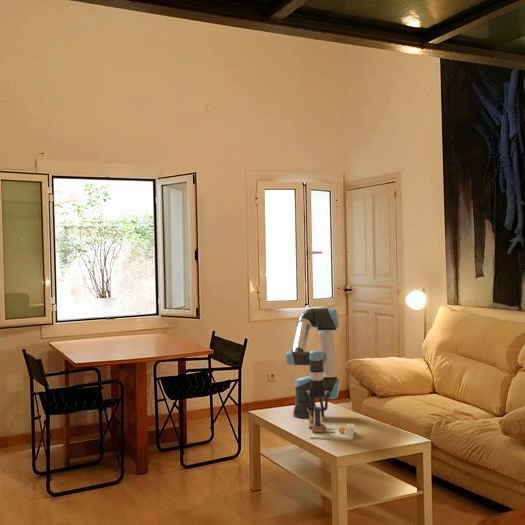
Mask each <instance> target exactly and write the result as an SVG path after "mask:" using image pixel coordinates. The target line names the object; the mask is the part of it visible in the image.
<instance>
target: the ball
mask: <svg viewBox="0 0 525 525" xmlns="http://www.w3.org/2000/svg"><path fill="white" fill-rule="evenodd" d="M338 430H339V432H340V433H344V432H345V427H344V426H340V427H338Z"/></svg>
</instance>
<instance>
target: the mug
mask: <svg viewBox="0 0 525 525" xmlns="http://www.w3.org/2000/svg"><path fill="white" fill-rule="evenodd" d="M311 408H312V407H311ZM315 408H321V406H316V407H314V410H315ZM307 410H308V408H307ZM308 413H309V418H308V419H309V420H308V424H307V427H309V428H310V429H312V425H313V424H314V417H312V411H311V410H308Z"/></svg>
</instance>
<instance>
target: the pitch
mask: <svg viewBox="0 0 525 525" xmlns="http://www.w3.org/2000/svg"><path fill="white" fill-rule="evenodd" d="M338 429H339V428H338ZM338 429H336V428H333V429H332V428H327V430H326V432H312V431H311V432H312V433H311V434H310V437H309V439H313V440H333V441H337V440H338V441H353V440H354V436H355V433H356V432H355V431H356V430H355V429H354V434H353V436H349V435H345V432H344V433H340V432H339V430H338Z"/></svg>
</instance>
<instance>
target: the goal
mask: <svg viewBox="0 0 525 525" xmlns="http://www.w3.org/2000/svg"><path fill="white" fill-rule="evenodd" d="M344 428H345V435H349V436H353V434H354V435H355V433H354V430H355V423H346V427H344ZM353 437H354V436H353Z"/></svg>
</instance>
